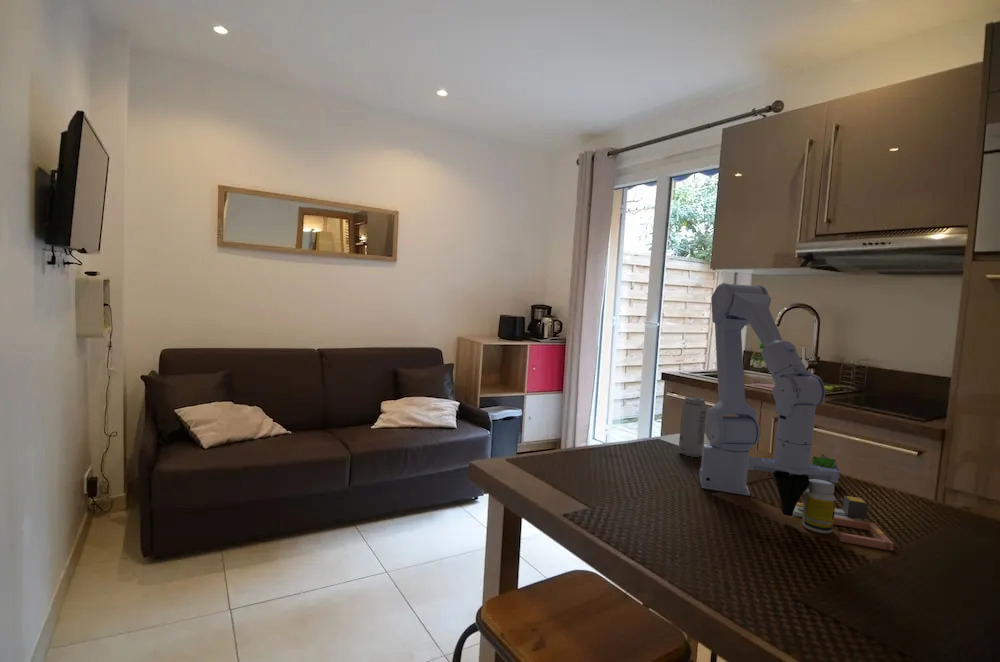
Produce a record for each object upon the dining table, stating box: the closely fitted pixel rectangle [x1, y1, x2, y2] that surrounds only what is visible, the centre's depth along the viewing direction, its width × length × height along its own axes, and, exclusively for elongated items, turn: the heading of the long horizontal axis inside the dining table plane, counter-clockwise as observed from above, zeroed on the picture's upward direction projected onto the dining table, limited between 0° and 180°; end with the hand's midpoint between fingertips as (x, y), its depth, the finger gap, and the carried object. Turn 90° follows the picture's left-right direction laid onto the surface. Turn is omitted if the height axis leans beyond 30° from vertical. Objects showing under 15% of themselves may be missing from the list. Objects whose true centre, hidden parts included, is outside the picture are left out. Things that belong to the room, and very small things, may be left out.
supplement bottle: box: [801, 478, 837, 534], centre depth 92 cm, size 5×5×8 cm
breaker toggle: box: [842, 495, 869, 520], centre depth 97 cm, size 3×3×3 cm
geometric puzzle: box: [809, 453, 842, 483], centre depth 118 cm, size 7×7×8 cm
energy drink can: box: [678, 396, 708, 458], centre depth 135 cm, size 6×6×15 cm
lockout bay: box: [833, 516, 894, 552], centre depth 91 cm, size 8×9×1 cm
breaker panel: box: [793, 501, 864, 521], centre depth 99 cm, size 12×6×1 cm, turn 71°
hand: (786, 513), depth 94 cm, fingers closed
